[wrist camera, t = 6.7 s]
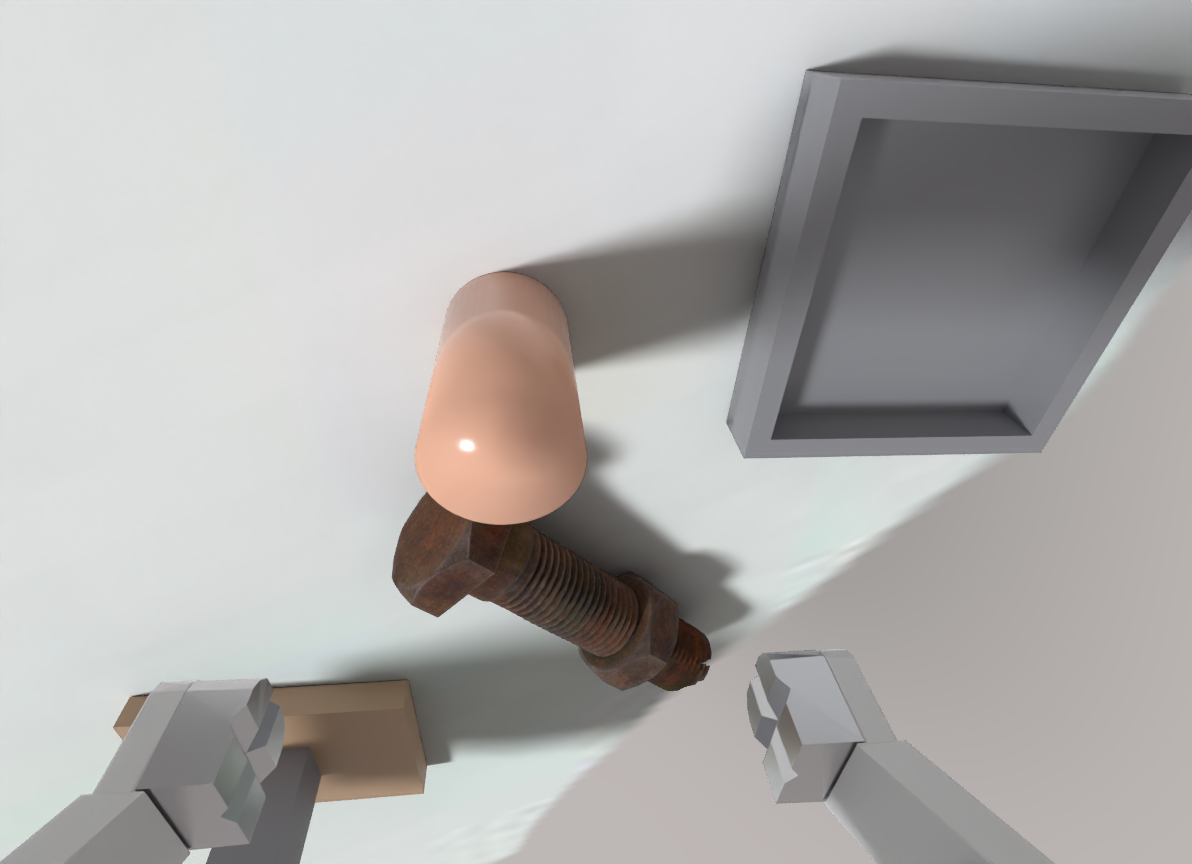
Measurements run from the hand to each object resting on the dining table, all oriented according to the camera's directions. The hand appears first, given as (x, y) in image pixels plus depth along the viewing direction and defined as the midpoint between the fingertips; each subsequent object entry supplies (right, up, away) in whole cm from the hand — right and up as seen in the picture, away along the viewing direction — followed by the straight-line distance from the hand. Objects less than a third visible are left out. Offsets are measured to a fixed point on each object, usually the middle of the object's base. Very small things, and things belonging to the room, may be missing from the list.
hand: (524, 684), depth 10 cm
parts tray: (+12, +9, +10) cm, 18 cm away
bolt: (0, -2, +17) cm, 17 cm away
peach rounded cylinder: (-2, +8, +10) cm, 12 cm away
